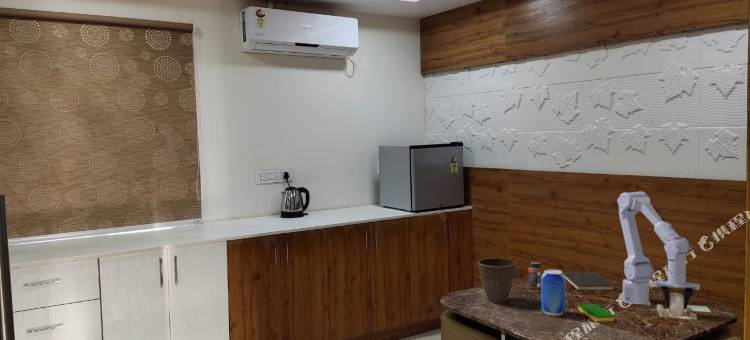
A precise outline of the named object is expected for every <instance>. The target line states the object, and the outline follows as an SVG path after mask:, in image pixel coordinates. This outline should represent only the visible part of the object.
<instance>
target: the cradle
mask: <svg viewBox="0 0 750 340" xmlns="http://www.w3.org/2000/svg"><path fill="white" fill-rule="evenodd" d="M668 309H669V308H664V306H663V304H659V303H658V304H657V307H656V308H655V310H656V311H657V313H658V315H659V317H660V318H670V319H671V318H672V319H684V320H694V321H695V320H697V321H698V320H699V319H698V317H697V314H696V313H695V311H693V310H692V309H691V307H687V309H684V315H683V316H674V315H671V314H669V313H668Z"/></svg>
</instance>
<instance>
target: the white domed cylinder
mask: <svg viewBox="0 0 750 340" xmlns="http://www.w3.org/2000/svg"><path fill="white" fill-rule="evenodd" d="M667 309H668V313H669V314H671V315H674V316H683V315H684V310H685V309H684V294H683V293H676V292H672V293H671V292H670V293H669V308H667Z"/></svg>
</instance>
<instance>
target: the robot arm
mask: <svg viewBox="0 0 750 340" xmlns="http://www.w3.org/2000/svg"><path fill="white" fill-rule="evenodd" d="M616 201H617V205H618V217H619V221H620V225H621V229H622V234H623V238H624V243H625V246H626V247H625V248H626V252H627V256H628V257H627V258H626V259H625V260H624V262H623V265H624V269H623V270H624V271H623V272H624V275H625V277H626V279H624V278H623V279H622V296H621V298H622V299H623V302H624V303H625V304H635V305H647V306H649V305H652V303H651V301H650V300H649V297H650V296H649V294H650V292H649V291H650V290H649V289H650V286H649V285H650V280H651V278H652V277H653V276H654V272H655V271H654V267H653V266H652V264H651V262H650V258H648V257H647V256H646V255H644V252H643V247H642V243H641V239H640V234H639V231H638V227H637V222H636V217H635V216H636V215H637V214H638V212H641V213H642V214H643V215H644V216H645V218H646V219H647V220H648V221H649V222H650V223H651V224H652V225H653V226H654V229H653V230H654V233H655V235H657V236H658V238H659V239H660V240H661V242H662V243H663V244H664V245H663V248H664V251H665V252H666V257H667V280H653V286H654V288H659V289H660V290H661V293H662V295H663V297H664V301H665V306H666V308H667V309H669V294H670V293H671V292H670V289H682V292H683V293H682V294H683V295H684V310H686V309H687V305H689V301H690V299H691V298H692V296H693V295H694V292H695V291H694V290H696V291H701V290H700V289H701V288H700V284H699V283H695V282H687V281H686V278H687V277H686V276H687V275H686V273H687V268H686V267H687V253H689V251H690V250H691V244H690V242H689V241H688V239H687V238H685V237H681V236H680V235H679V234H678V233H677V231H676V230H674V228H673V227H672V224H671V223H669V222H667V221H663V219H662V218H661V216H660V215H659V214H658V212H657V211H656V210H655V208H654V206H653V205H652V204H651V198H650V197H649V196H648V195H647V193H645V192H644V191H634V192H632V191H631V192H622V193H621V194H620V195H619V197H618V198H617V199H616Z"/></svg>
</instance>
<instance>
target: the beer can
mask: <svg viewBox="0 0 750 340" xmlns="http://www.w3.org/2000/svg"><path fill="white" fill-rule="evenodd" d="M541 283H542V288H541V311H542V312H543V314H544V313H545V315H546V314H547V316H550V315H551V316H550V317H561V316H562V315H564V313H565V312H566V278H565V277H564V276H563V271H562V270H559V269H552V268H551V269H545V270H544V271H543V272H542V277H541ZM560 315H561V316H560Z"/></svg>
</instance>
